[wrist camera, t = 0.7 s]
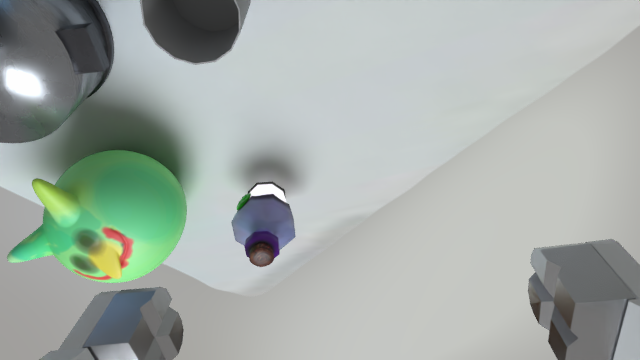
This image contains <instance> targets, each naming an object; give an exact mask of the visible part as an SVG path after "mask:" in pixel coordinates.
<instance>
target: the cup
mask: <svg viewBox="0 0 640 360" xmlns="http://www.w3.org/2000/svg"><path fill="white" fill-rule="evenodd" d="M140 4H141V11H142V18H143V24H144V26H145V28H146V29H147V31H148V33H149V34H150V36H151V38H152V39H153V41H154V42H155V44H156V45H157V46H158V47H160V48H161V49H162V50H164V51H165V52H166V53H167V54H169V55H170V56H171V57H173V58H174V59H177V60H180V61H184V62H187V63H191V64H195V65H197V64H204V63H211V62H216V61H217V60H219V59H220V58H222V57H223V56H224V55H226V54H227V53H229V52H230V51H231V50H232V48H233V46H234V44H235V42H236V40H237V38H238V36H239V34H240V32H241V29H242V26H243V23H244V20H245V17H246V14H247V11H248V9H249V6H250V0H140Z"/></svg>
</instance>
